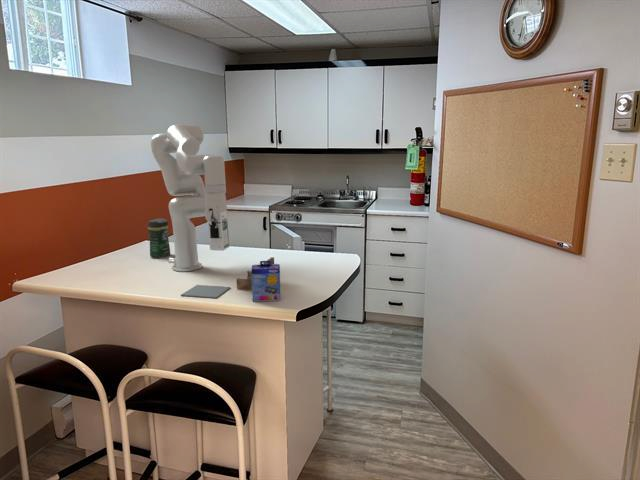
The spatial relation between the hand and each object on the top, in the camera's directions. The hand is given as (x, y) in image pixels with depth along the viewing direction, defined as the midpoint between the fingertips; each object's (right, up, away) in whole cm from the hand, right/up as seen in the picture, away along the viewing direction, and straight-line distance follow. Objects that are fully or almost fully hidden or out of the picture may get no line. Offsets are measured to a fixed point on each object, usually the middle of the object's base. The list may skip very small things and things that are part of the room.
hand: (218, 235), depth 179 cm
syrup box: (0, -5, +1) cm, 5 cm away
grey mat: (-4, -21, -4) cm, 22 cm away
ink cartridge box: (+20, -23, -13) cm, 33 cm away
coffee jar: (-39, -10, +51) cm, 65 cm away
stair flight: (+14, -19, +2) cm, 24 cm away
